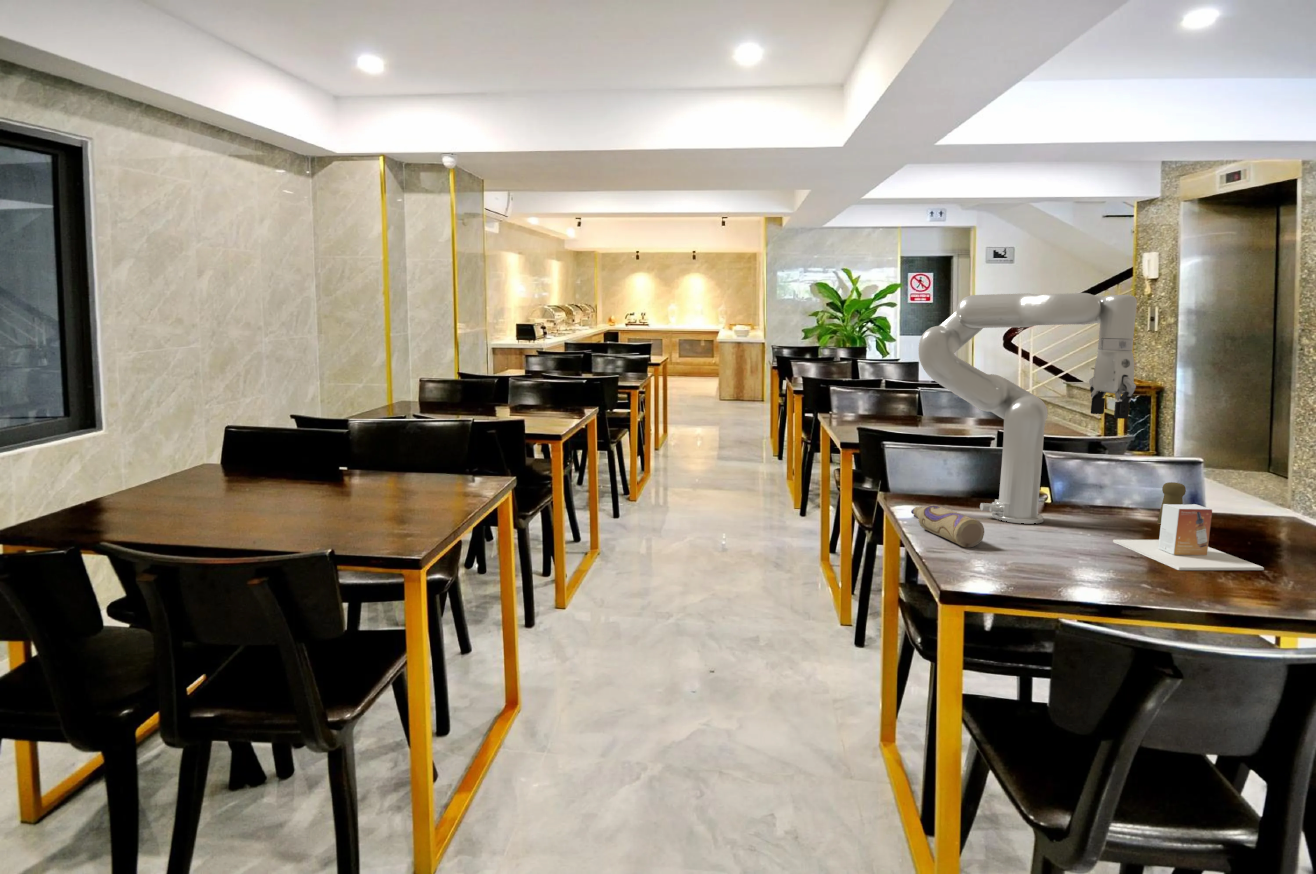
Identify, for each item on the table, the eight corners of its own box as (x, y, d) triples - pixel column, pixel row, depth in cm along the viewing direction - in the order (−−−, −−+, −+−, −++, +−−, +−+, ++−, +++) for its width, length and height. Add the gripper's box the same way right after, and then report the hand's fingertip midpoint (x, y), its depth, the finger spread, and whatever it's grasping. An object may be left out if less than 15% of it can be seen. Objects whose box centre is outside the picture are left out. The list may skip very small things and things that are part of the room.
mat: (1178, 570, 184) (1179, 567, 184) (1113, 542, 207) (1113, 539, 207) (1263, 570, 186) (1263, 567, 186) (1189, 542, 209) (1189, 539, 209)
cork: (1180, 523, 229) (1185, 481, 227) (1186, 528, 223) (1190, 486, 221) (1154, 521, 230) (1158, 480, 229) (1159, 526, 225) (1163, 483, 223)
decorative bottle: (985, 547, 200) (987, 519, 199) (955, 549, 198) (957, 520, 197) (927, 521, 225) (929, 495, 224) (900, 522, 223) (902, 496, 222)
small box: (1173, 555, 194) (1178, 508, 192) (1157, 548, 199) (1162, 503, 198) (1208, 555, 194) (1213, 509, 193) (1191, 549, 200) (1196, 503, 198)
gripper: (1152, 347, 206) (1145, 420, 209) (1108, 345, 223) (1102, 412, 226) (1122, 347, 206) (1115, 420, 208) (1080, 344, 223) (1074, 412, 225)
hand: (1108, 416), depth 217 cm, fingers open, 9 cm apart
